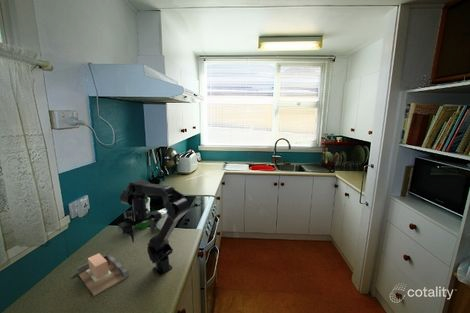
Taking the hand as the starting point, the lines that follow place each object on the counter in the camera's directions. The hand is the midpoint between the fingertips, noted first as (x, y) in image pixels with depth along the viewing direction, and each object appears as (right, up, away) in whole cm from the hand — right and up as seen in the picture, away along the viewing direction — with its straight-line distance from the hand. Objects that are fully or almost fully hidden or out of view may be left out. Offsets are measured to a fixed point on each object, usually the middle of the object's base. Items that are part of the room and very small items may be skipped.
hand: (142, 237), depth 99 cm
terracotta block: (-17, -13, -6) cm, 22 cm away
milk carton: (-15, -6, +36) cm, 39 cm away
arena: (-14, -14, -7) cm, 21 cm away
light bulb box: (0, -6, +35) cm, 36 cm away
